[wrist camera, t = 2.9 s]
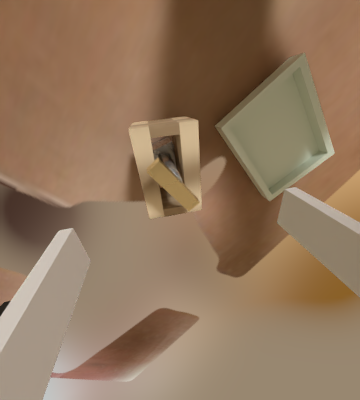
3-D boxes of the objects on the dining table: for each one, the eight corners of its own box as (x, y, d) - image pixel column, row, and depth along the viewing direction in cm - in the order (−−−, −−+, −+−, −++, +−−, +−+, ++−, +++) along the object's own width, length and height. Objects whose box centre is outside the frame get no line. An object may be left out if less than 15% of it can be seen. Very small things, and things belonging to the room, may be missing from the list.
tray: (214, 126, 26) (220, 128, 24) (289, 57, 23) (304, 52, 21) (261, 195, 34) (269, 201, 32) (321, 149, 31) (334, 153, 29)
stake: (138, 149, 26) (133, 185, 14) (160, 127, 25) (173, 147, 14) (164, 174, 28) (176, 221, 17) (184, 155, 27) (212, 192, 16)
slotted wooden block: (132, 122, 20) (128, 129, 15) (185, 116, 21) (198, 120, 16) (150, 205, 26) (151, 229, 21) (191, 197, 27) (202, 220, 22)
